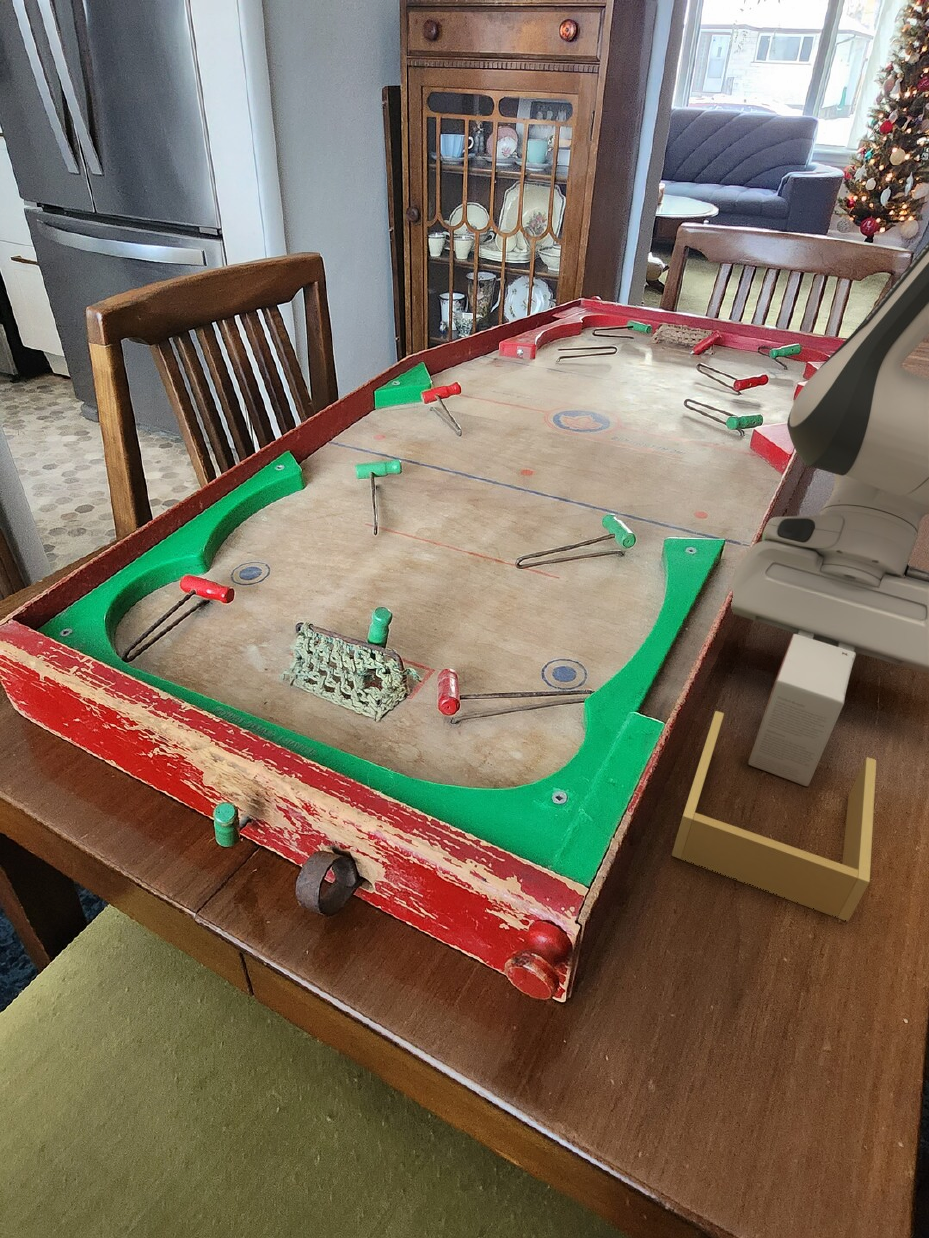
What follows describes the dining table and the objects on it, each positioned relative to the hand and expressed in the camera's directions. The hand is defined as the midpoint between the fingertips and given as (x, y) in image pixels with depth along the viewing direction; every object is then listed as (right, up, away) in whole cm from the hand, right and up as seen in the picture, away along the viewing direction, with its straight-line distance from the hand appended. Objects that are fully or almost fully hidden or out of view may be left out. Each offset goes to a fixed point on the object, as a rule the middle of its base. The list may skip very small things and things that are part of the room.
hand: (809, 685), depth 74 cm
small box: (-2, -6, 0) cm, 7 cm away
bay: (-7, -11, -8) cm, 15 cm away
